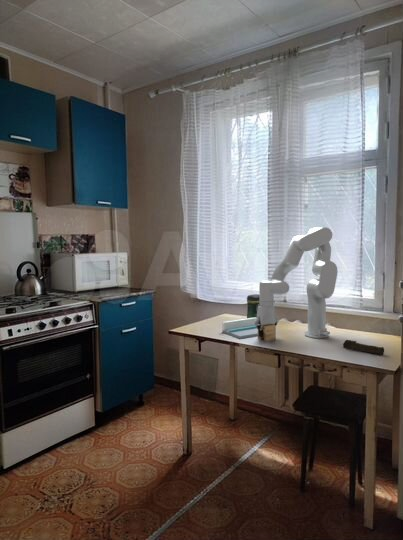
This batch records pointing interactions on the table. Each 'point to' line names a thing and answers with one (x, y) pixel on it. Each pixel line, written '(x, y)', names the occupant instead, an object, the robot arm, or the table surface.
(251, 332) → the cleat board
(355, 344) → the hand tool
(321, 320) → the robot arm
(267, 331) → the oak block
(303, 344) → the table surface
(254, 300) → the coffee jar
